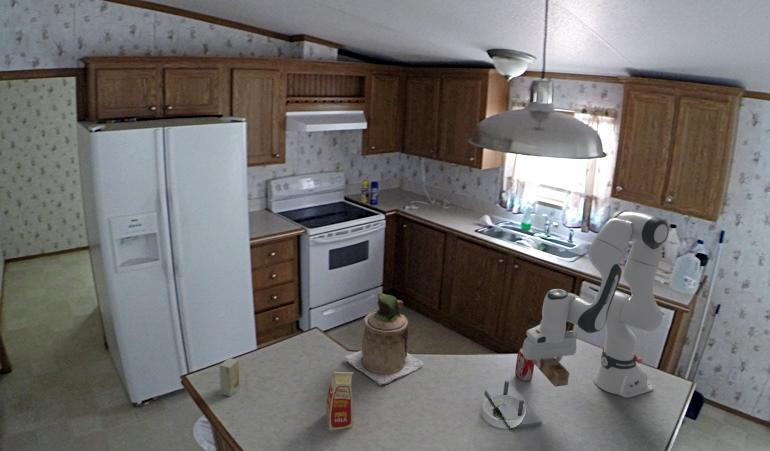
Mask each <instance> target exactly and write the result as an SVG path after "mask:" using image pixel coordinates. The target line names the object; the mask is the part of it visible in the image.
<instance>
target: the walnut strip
mask: <svg viewBox="0 0 770 451" xmlns="http://www.w3.org/2000/svg"><path fill="white" fill-rule="evenodd" d="M555 358H556V357H550V358H541V360H539V361H541V363H542V364H543V366H542V368H538V370H539V371H540V372H541V373H542V374H543V376H545V377H546V378H547V380H548V381H549V382H550V383H551V385H553V387H562V386H568V383H569V378H570V371H568V370H567V369H566V368H565V367H564V365H562V364H561V363H560V362H558V361H557V360H556V359H555ZM531 361H532V362H533V363H534V366H536V367H537V361H536V359H531Z"/></svg>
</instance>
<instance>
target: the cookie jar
mask: <svg viewBox="0 0 770 451" xmlns="http://www.w3.org/2000/svg"><path fill="white" fill-rule="evenodd" d="M376 304H377V306H378V310H376V311H373V312H369V313H368V314H367V315H366V316H365V317H364V318H363V324H364V332H363V338H362V340H361V342H362V344H361V350H359V351H357V352H354V353H350V354H346V355H345V356H344V358H345V363H348V364H350V365H351V366H352V367H354V368H355V369H356V370H358V371H360V372H362V374H364V375H366V376H367V377H368V378H370V379H371V380H372V381H374V382H375V383H376V384H378V385H379V386H382V385H387V384H390V383H391V382H392V381H394V380H398V379H400V378H402V377H404V376H406V375H409V374H411V373H412V372H415V371H417V370H419V369H420V368H422V367H423V366H424V362H423V361H422V360H420V359H418V358H416V357H415V356H412V355H411V354H410V353H409V352H408V341H409V340H408V339H409V338H410V336H409V335H410V330H409V321H408V318H407V317H406V316H405V315H404V314H401V312H400V310H402V309H403V306H404V302H403V301H402V300H400V299H397V298H396V297H395V296H393V295H391V294H385V293H383V292H378V293H377V302H376Z"/></svg>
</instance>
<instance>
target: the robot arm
mask: <svg viewBox="0 0 770 451" xmlns="http://www.w3.org/2000/svg"><path fill="white" fill-rule="evenodd" d="M669 229H670V228H669V225H668V223H667V222H666V221H665V220H663V219H662V218H660V217H657V216H653V215H650V214H648V213H645V212H644V213H643V212H636V211H630V210H626V209H625V210H623V209H620V210H618V211H616V212H614V213H613V214H612V215H611V217H610V219H608V220H607V221H606V222H605V224H604V225H603V226H602V227H601V229H599V231H598V232H597V234H596V236H595V237H594V239H593V240H592V242H591V244H590V245H589V248H588V250H587V257H588V260H589V262H590V263H591V265H592V266H593V267H594V268H595V270H597V271H598V273H599V275H600V277H601V283H600V286H599V288H598V291H597V293H596V294H595V297H594V301H593V302H591V301H589V300H587V299H584V298H583V297H581V296H578V295H577V294H575V293H572V292H568V291H566V290H564V289H561V288H553V289H550V290H548V291H547V292H546V295H545V297H544V299H543V305H542V310H541V316H542V319H541V320H540V324H538V325H536V326H534V327H533V328H529V329H528V330H526V336H527V337H526V338H525V339H524V341H523V344H522V348H523V350H522V354H523V355H524V357H525V358H526V359H527V360H531V359H536V361H537V366H536V368H538V369H539V368H542V366H543V364H542V363H541V361H539V360H541V358H550V357H554V358H555V359H556V360H557V361H558V362H559V363H560V362H561V361H562V359H563V357H565V356H566V357H567V356H573V355H575V354H576V353H577V339H578V338H577V337H578V334H577V332H576V331H574V330H569V331H568V330H567V322H569V323H571V324H573V325H575V326H577V327H578V328H579V329H581V330H582V331H584V332H585V333H587V334H594V333H596V332H600V331H601V330H603V329H604V327H605V341H604V347H603V349H602V352H601V357H600V358H601V360H600V364H599V366H598V368H597V371H596V374H595V376H594V378H593V381H594V383H595V384H596V386H597V387H598V388H600V389H601V390H603V391H605V392H608V393H610V394H614V395H618V396H619V397H620V396H621V397H622V398H626V399H628V398H632V397H635V396H640V395H641V394H646V393H649V392H652V391H653V390H654V389H653V388H654V387H653V385H652V383H651V382H650V381H649V379H648V374H647V371H645V370H644V369H643V367H642V366H641V365H639V364H642V363H643V358H641V357H640V356H636V354H635V352H636V348H637V343H638V341H637V337H636V335H635V333H634V332H633V331H632V330H631V329H630V327H632V328H635V329H637V330H640V331H645V332H651V333H653V332H655V331H656V330H658V329H659V328H660V327H661V325H662V323H663V321H664V314H663V311H662V309H661V308H660V306H659V305H658V303H657V301H656V299H655V296H654V295H655V294H654V283H655V279H656V276H657V272H658V268H659V265H660V262H661V258H662V252H663V244H664V243H665V241H666V240H667V239H668V237H669V233H670V232H669V231H670V230H669ZM629 242H632V245H631V247H630V250H629V252H628V256H627V258H626V262H625V264H624V268H623V269H622V268H621V265H620V264H621V258H622V256H623V254H624V253H625V251H626V249H627V247H628V245H629ZM622 270H623V271H622ZM621 278H622V279H623V282H624V283H625V284H626V285H627V286H629V289H630V292H631V295H630V294H627V293H625V292H622V291H620V290H617V289H618V285H619V284H620V280H621ZM629 326H630V327H629Z"/></svg>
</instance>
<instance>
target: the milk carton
mask: <svg viewBox="0 0 770 451" xmlns="http://www.w3.org/2000/svg"><path fill="white" fill-rule="evenodd" d="M354 373H355V372H354V371H349V372H346V371H345V372H341V371H333V375H332V378H331V381H330V385H329V387H328V390H327V397H326V400H325V401H326V402H325V410H326V411H325V414H326V415H325V416H326V420H327V425H328V429H329V431H337V430H342V429H343V430H344V429H348V428H349V429H350V428H353V426H354V425H353V424H354V423H353V422H354V406H353V403H354V401H353V399H354V398H353V391H352V377H353V374H354Z"/></svg>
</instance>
